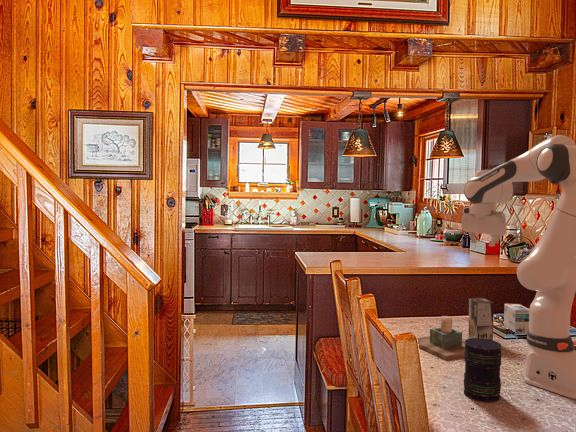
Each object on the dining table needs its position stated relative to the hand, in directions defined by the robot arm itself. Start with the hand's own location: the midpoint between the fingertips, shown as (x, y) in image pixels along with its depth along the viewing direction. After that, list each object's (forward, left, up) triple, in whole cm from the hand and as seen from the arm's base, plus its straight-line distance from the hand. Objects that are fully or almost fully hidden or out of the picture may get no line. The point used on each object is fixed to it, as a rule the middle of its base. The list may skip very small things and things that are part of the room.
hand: (482, 244), depth 192 cm
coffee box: (-7, +7, -37) cm, 38 cm away
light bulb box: (-4, -16, -37) cm, 40 cm away
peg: (-8, +25, -35) cm, 44 cm away
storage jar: (-44, +44, -37) cm, 72 cm away
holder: (-8, +25, -37) cm, 45 cm away
